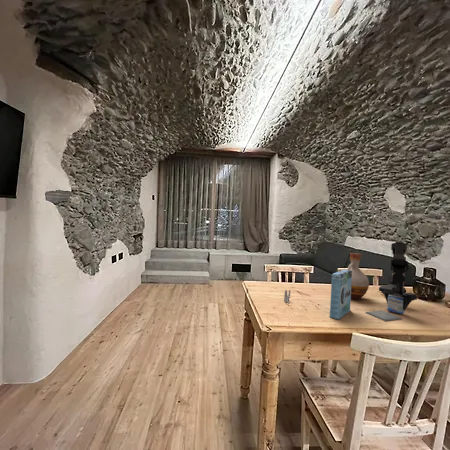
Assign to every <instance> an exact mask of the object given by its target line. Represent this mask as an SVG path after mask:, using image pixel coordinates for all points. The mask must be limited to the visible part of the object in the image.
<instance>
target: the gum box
mask: <svg viewBox="0 0 450 450" xmlns="http://www.w3.org/2000/svg"><path fill="white" fill-rule="evenodd" d="M351 282H352V271H349V270H347V269H342V270H340V271H336V272H334V273H331V285H330V286H331V287H330V289H331V290H330V303H329V305H330V306H329V307H330V308H329V318H331V319H335V320H340V319H342V317H344V316H345V315H347V314H348V313H349V312H351V304H352V303H351V301H352V299H351Z"/></svg>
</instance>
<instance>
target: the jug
mask: <svg viewBox="0 0 450 450" xmlns="http://www.w3.org/2000/svg"><path fill="white" fill-rule="evenodd" d="M349 254H350V256H349V260H350V264H348V267H347V269H346V270H349V271H352V282H351V301H352V300H354V301H359V300H361V299H362V298H363V297H364V296H365V295H366V294H367V293H368V290H369V286H370V281H369V278H368V276H367V275H366V274H365V273H364V272H363V271H362V270H361V268H360V261H361V260H362V258H361V257H362V253H355V252H349Z"/></svg>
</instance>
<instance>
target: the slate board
mask: <svg viewBox="0 0 450 450" xmlns="http://www.w3.org/2000/svg"><path fill="white" fill-rule="evenodd" d="M365 314H367V315H370V316H371V317H374V318H377V319H379V320H381V321H384V322H390V321H399V319H401V320H402V319H403V318H402V317H400V316H397V315H394V314H392V313H390V312H387V311H385V310H381V309H380V310H373V311H365Z"/></svg>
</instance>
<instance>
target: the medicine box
mask: <svg viewBox="0 0 450 450" xmlns="http://www.w3.org/2000/svg"><path fill="white" fill-rule="evenodd" d="M402 298H403V297H400V296H395V295H388V304H387V303H386V304H387V306H386V310H387V311H388V312H392V313H397V314H399V315H400V314H401V315H404V314H405V311H406V310H403V300H402Z"/></svg>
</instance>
